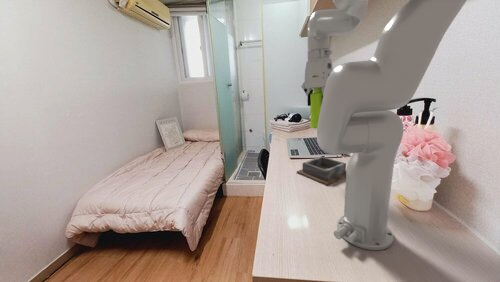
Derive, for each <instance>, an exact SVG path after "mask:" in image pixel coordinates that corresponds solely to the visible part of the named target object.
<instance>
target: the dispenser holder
mask: <svg viewBox="0 0 500 282" xmlns="http://www.w3.org/2000/svg"><path fill="white" fill-rule="evenodd" d="M346 168H347V163H346V162H342V161H338V160H335V159H332V158H328V157H325V156H322V155H321V156H319V157H316V158H313V159H310V160H307V161H304V162H302V169H299V170H296V174H298V175H301V176H303V177H305V178H307V179H309V180H311V181H315V182H318V183H320V184H322V185H324V186H330V185H331V184H334V183H336V182H338V181H340V180H342V179H346Z"/></svg>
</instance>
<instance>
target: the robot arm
mask: <svg viewBox="0 0 500 282" xmlns="http://www.w3.org/2000/svg"><path fill="white" fill-rule="evenodd" d="M369 1H370V0H332V2H333V5H334V6H335V8H330V9H320V10H319V9H318V10H316V11H314V12H312V14H311V16H310V17H309V18H308V19H309V20H308V22H307V61H306V64H305V68H304V82H303V83H302V84H301V89H302V90H303V91H304V93H305V95H306V96H307V106H308V107H311V94H312V93H314V88H321V89H322V92H323V96H322V105H321V110H320V115H319V120H318V126H317V128H316V142H317V145H318V147H319V149H320V150H321V151H323V152H324V153H325V154H329V155H347V154H352V155H351V156H350V158H349V159H348V162H347V163H346V177H345V186H344V187H345V191H344V211H343V212H344V213H343V216H341V217H340V218H338V220H337V223H336V230H334V231H333V236H334V237H335V239H337V240H341V239H342V238H343V239H344V240H345V241H346V242H348V243H350V244H352V245H353V246H355V247H357V248H361V249H364V250H369V251H381V250H385V249H388V248H390V247H391V246H392V244H393V243H394V233H393V231H392V230H391V228H390V227H389V226H388V218H389V211H390V210H389V209H390V201H391V192H392V191H391V190H392V183H393V182H392V181H393V174H394V168H395V167H394V166H395V161H396V158H397V154H398V151H399V148H400V145H401V143H402V140H403V137H404V129H405V128H404V122H403V120H402V119H401V116H399V115H398V114H397V113H396V112H394V111H392V110H398V109H401V108H403V107H404V106H406V105H408V104H409V103H410V101H411V100H412V98H413V97H414V96H415V94H416V92H417V90H418V88H419V86H420V84H421V83H422V80H423V79H424V77H425V75H426V72H427V70H428V68H429V66H430V64H431V62H432V61H433V58H434V56H435V54H436V52H437V50H438V48H439V45H440V43H441V42H442V39H443V38H444V36H445V34H446V32H447V30H449V28H450V26H451V24H452V23H453V21H455V18H456V17H457V16H458V14H459V13H460V11H461V9H462V8H463V7H464V5H465V3H466V2H467V1H468V0H408V1H407V2H406V3H405V4H404V5H403V6H402V7H401V8H400V9H398V11H397V12H396V13H395V14H394V15H393V16H392V17H391V19H390V20H389V21H388V22H387V24H386V25H385V26H384V28H383V30H382V32H380V36H379V38H378V39H379V40H378V42H377V46H376V49H375V51H374V54H373V55H372V57H371V58H370V59H368V60H361V61H360V60H359V61H357V60H356V61H350V62H345V63H340V64H339V65H337V66H336V67H334V68H333V61H332V60H333V59H332V58H330V56H331V55H332V54H333V53H332V50H330V42H331V41H330V37H331V36H333V37H335V36H345V35H349V34H351V33H352V32H353V31H355V30H356V29H357V28H358V27H359V26H361V25H362V23H363V22H364V19H365V18H366V14H367V12H368V5H369ZM313 75H317V77H316V76H313ZM312 76H313V77H312Z"/></svg>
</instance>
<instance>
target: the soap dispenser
mask: <svg viewBox="0 0 500 282" xmlns="http://www.w3.org/2000/svg"><path fill="white" fill-rule="evenodd" d="M313 76H316V77H317V75H313ZM313 76H312V77H313ZM322 96H323V92H322V89H321V88H314V92H313V93H312V94H311V106H310V118H309V119H310V120H309V121H310V128H312V129H317V126H318V120H319V115H320V110H321V105H322Z"/></svg>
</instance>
